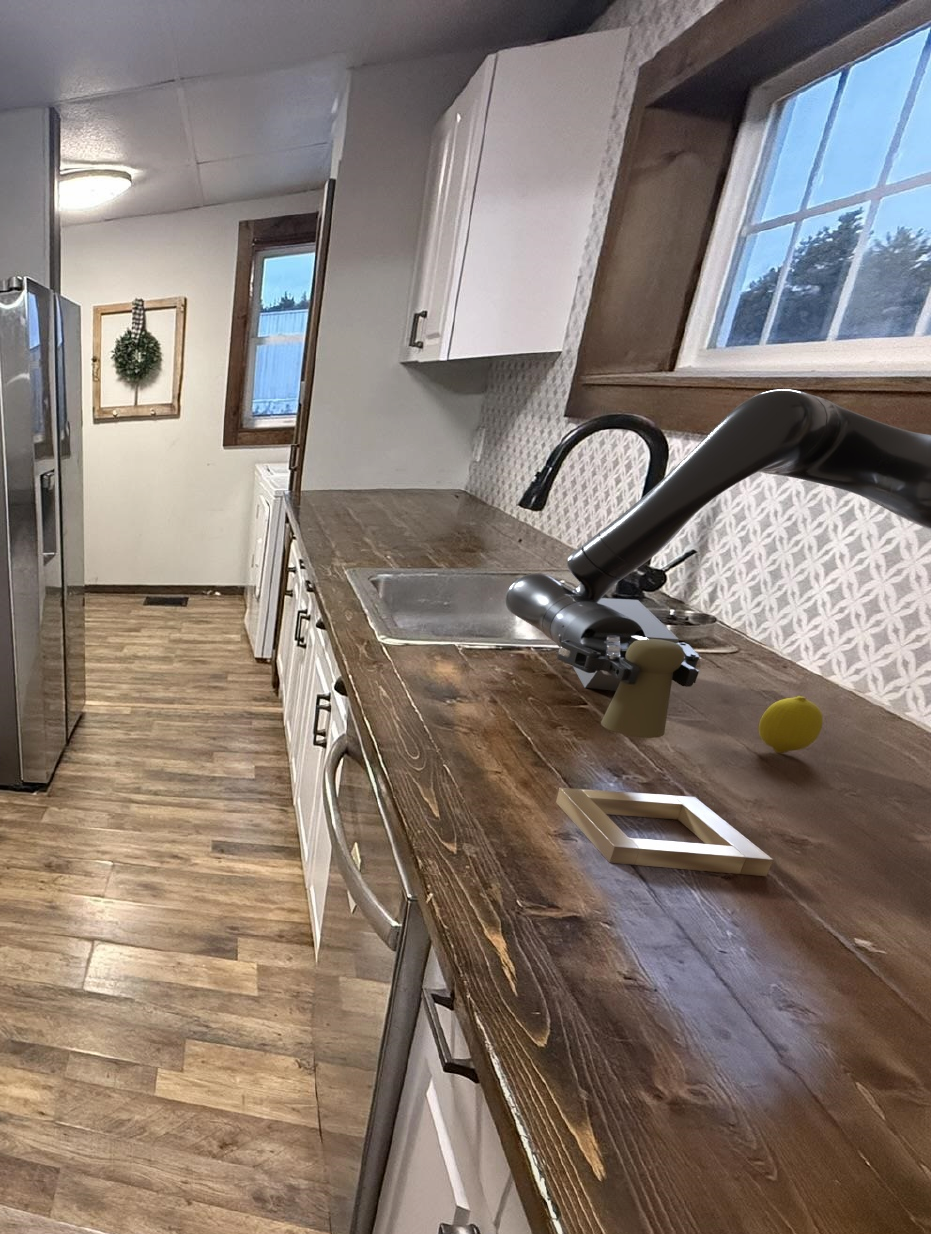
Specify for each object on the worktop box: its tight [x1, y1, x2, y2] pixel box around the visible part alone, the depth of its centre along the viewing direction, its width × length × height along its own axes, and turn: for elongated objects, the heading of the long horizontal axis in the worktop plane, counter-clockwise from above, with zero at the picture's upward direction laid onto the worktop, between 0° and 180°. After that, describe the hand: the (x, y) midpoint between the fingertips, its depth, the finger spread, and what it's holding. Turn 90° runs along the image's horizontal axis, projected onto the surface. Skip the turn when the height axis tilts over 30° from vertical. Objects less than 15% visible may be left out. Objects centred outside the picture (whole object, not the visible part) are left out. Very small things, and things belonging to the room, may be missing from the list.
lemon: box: [758, 695, 824, 754], centre depth 100 cm, size 6×6×8 cm
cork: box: [600, 639, 685, 739], centre depth 92 cm, size 6×6×11 cm
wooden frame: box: [555, 787, 774, 877], centre depth 84 cm, size 13×13×2 cm
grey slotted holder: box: [572, 597, 680, 692], centre depth 126 cm, size 25×8×11 cm, turn 152°
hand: (662, 677), depth 89 cm, fingers closed on cork, 5 cm apart
